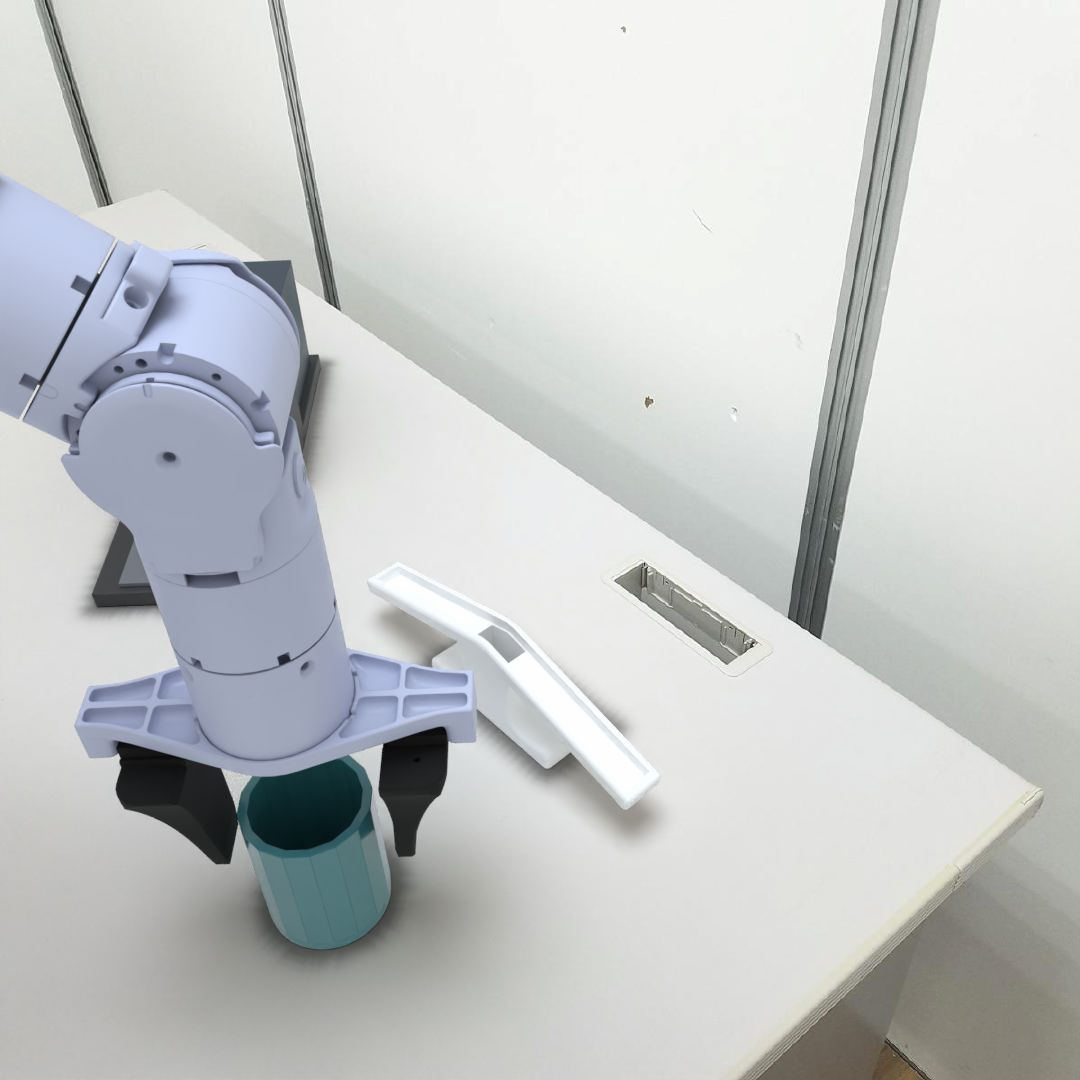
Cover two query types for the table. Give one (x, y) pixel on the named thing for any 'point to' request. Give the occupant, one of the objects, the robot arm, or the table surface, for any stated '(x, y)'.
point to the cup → (318, 852)
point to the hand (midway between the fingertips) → (317, 840)
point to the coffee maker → (123, 564)
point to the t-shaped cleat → (520, 685)
